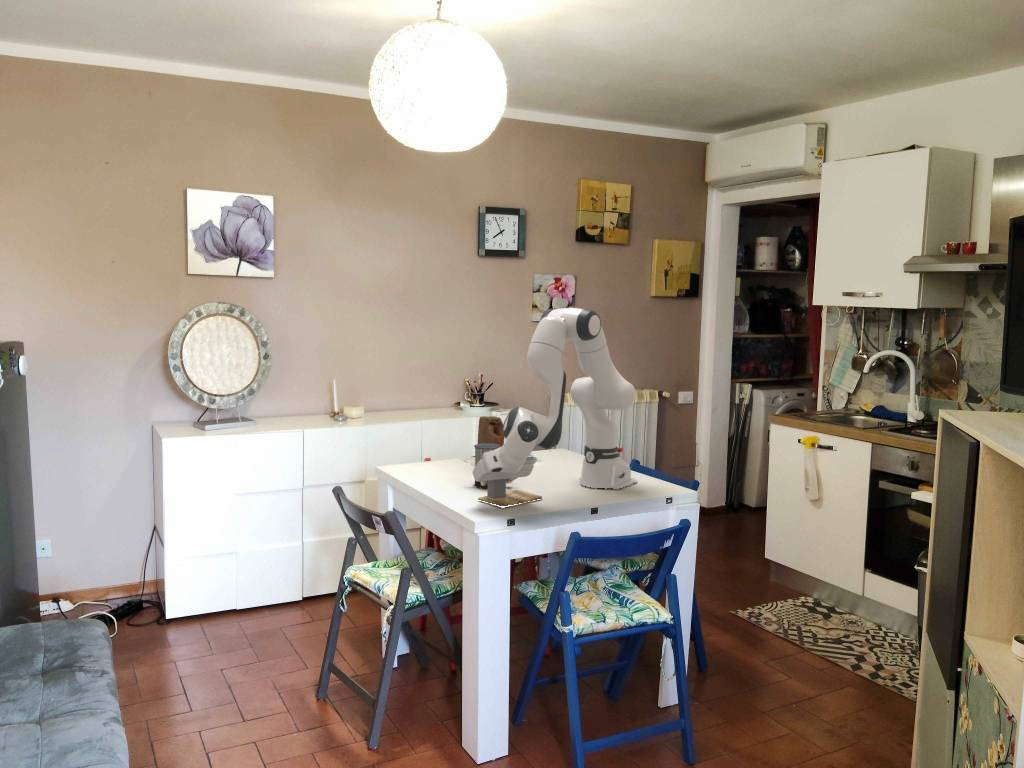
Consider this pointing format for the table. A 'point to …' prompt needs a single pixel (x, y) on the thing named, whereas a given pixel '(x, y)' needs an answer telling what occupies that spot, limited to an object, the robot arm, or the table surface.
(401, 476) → the table surface
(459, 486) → the table surface
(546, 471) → the table surface
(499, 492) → the block
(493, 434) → the block
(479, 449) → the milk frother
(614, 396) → the robot arm
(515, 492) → the board
